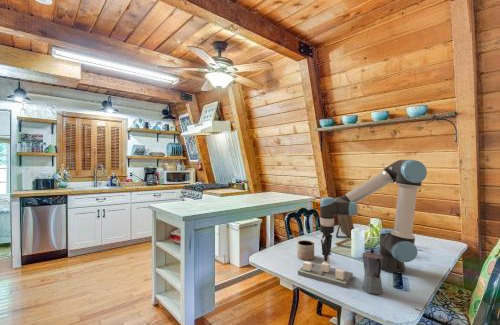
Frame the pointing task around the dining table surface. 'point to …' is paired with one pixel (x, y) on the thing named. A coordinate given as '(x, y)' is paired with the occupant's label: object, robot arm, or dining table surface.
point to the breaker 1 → (307, 266)
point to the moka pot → (372, 272)
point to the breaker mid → (325, 267)
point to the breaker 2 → (339, 274)
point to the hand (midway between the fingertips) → (326, 266)
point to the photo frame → (345, 225)
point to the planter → (305, 250)
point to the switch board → (326, 275)
